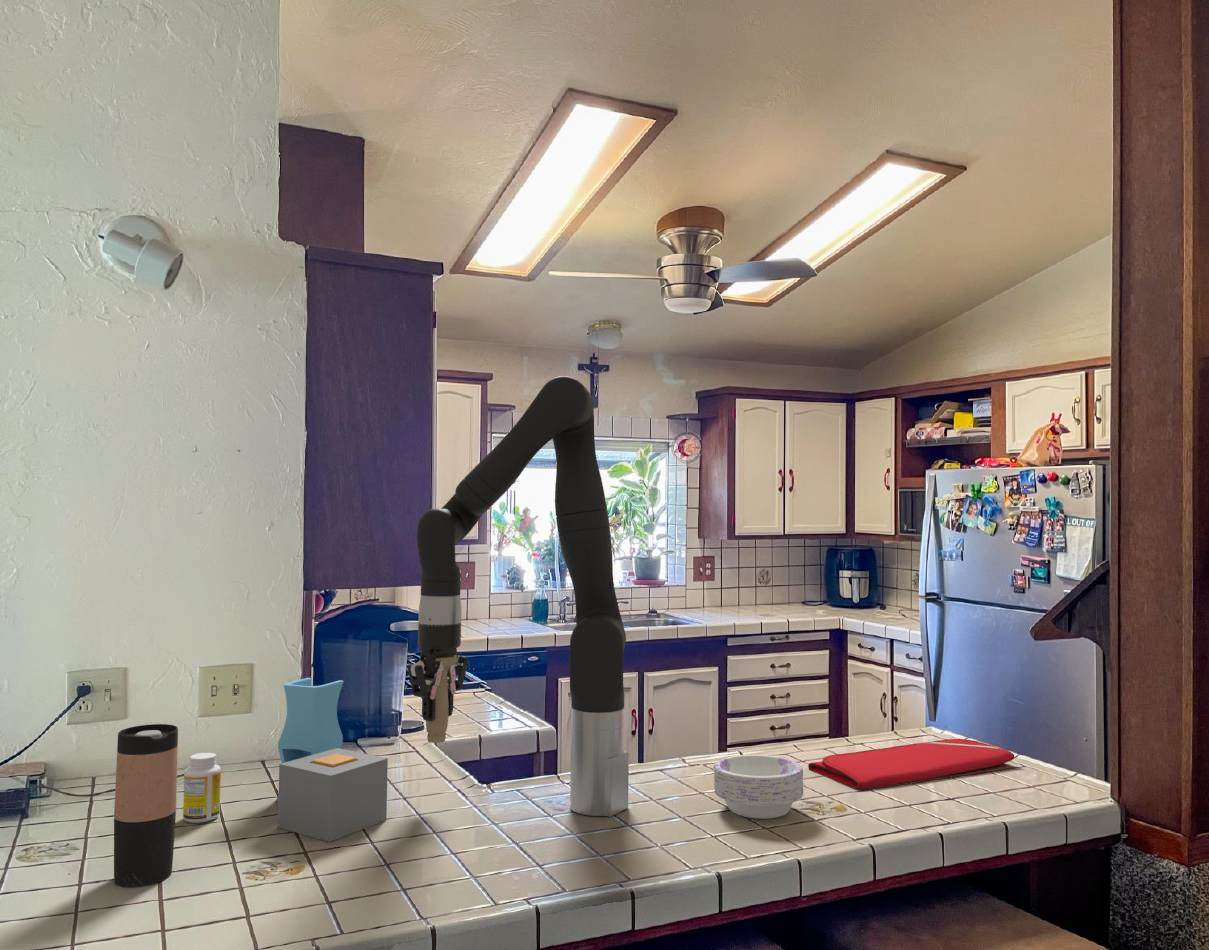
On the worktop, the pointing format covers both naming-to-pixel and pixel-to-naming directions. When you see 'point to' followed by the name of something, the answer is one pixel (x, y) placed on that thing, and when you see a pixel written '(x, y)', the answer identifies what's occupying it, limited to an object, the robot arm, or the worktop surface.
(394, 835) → the worktop surface
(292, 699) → the vase
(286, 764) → the box
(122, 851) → the travel mug
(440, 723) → the handle
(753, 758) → the paper bowls
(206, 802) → the supplement bottle
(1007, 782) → the worktop surface
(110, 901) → the worktop surface
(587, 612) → the robot arm
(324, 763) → the button
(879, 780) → the dish drying mat
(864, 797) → the worktop surface
